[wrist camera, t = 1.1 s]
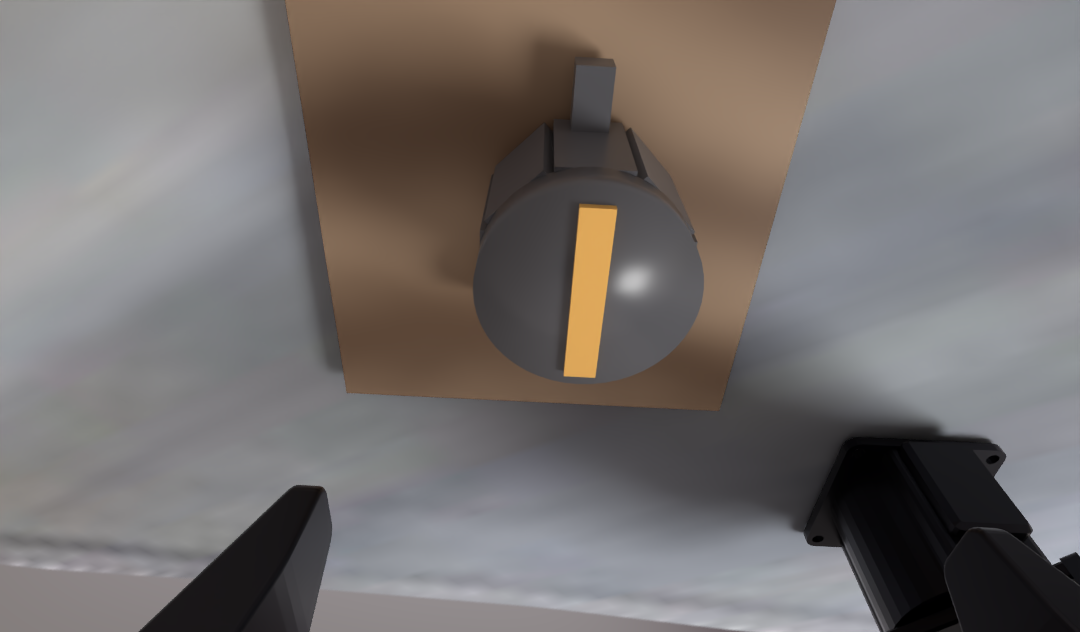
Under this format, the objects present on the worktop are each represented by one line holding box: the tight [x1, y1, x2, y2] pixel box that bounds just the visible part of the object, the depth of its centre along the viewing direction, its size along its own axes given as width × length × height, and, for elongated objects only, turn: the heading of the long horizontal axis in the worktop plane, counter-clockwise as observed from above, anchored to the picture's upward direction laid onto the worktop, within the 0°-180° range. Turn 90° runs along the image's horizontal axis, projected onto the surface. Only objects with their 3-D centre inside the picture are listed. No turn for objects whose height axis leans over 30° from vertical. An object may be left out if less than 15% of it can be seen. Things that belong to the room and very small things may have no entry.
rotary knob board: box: [285, 0, 836, 411], centre depth 17 cm, size 18×14×5 cm
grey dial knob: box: [473, 57, 704, 384], centre depth 16 cm, size 7×5×5 cm
